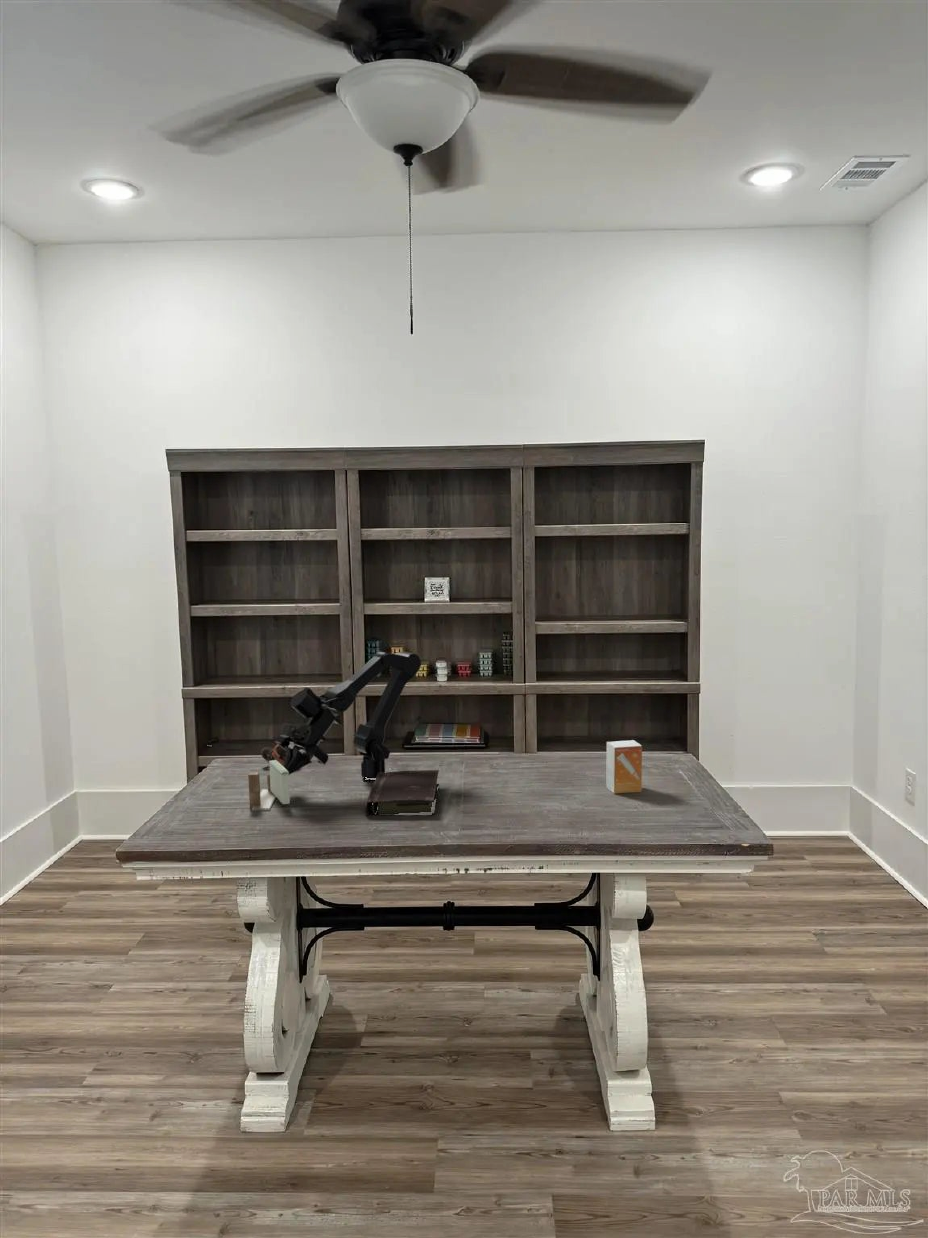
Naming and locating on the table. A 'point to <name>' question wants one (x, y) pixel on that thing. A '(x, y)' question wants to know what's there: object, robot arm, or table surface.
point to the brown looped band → (275, 754)
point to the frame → (256, 798)
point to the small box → (624, 766)
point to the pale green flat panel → (279, 781)
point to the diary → (403, 792)
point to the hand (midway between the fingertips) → (283, 775)
